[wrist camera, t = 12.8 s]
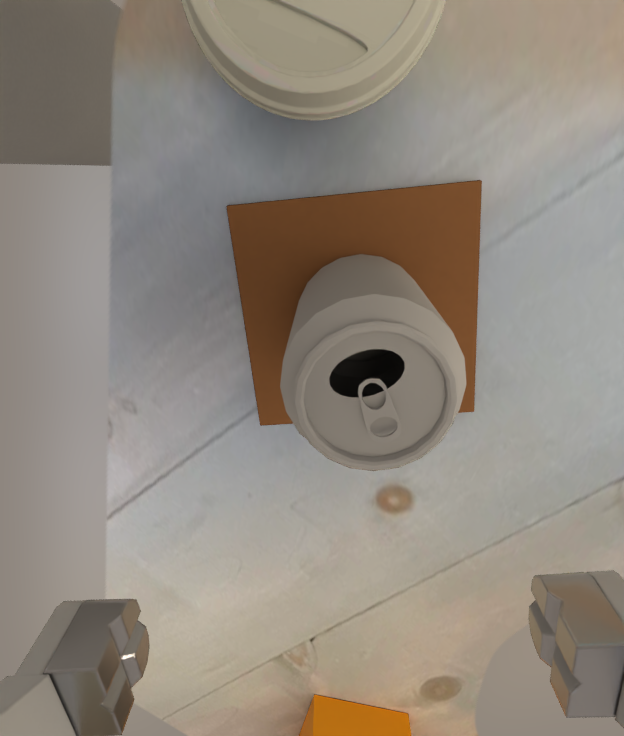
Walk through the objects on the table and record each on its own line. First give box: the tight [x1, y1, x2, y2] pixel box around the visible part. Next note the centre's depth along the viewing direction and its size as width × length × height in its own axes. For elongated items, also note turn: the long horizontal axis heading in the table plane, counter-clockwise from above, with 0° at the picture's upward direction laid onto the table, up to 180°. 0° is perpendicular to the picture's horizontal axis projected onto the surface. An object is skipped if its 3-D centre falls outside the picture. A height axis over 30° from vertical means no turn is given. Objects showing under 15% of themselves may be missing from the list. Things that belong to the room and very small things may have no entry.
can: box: [280, 254, 466, 471], centre depth 23 cm, size 8×8×12 cm
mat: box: [227, 180, 482, 425], centre depth 29 cm, size 14×14×1 cm
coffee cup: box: [181, 0, 446, 120], centre depth 19 cm, size 9×8×12 cm
